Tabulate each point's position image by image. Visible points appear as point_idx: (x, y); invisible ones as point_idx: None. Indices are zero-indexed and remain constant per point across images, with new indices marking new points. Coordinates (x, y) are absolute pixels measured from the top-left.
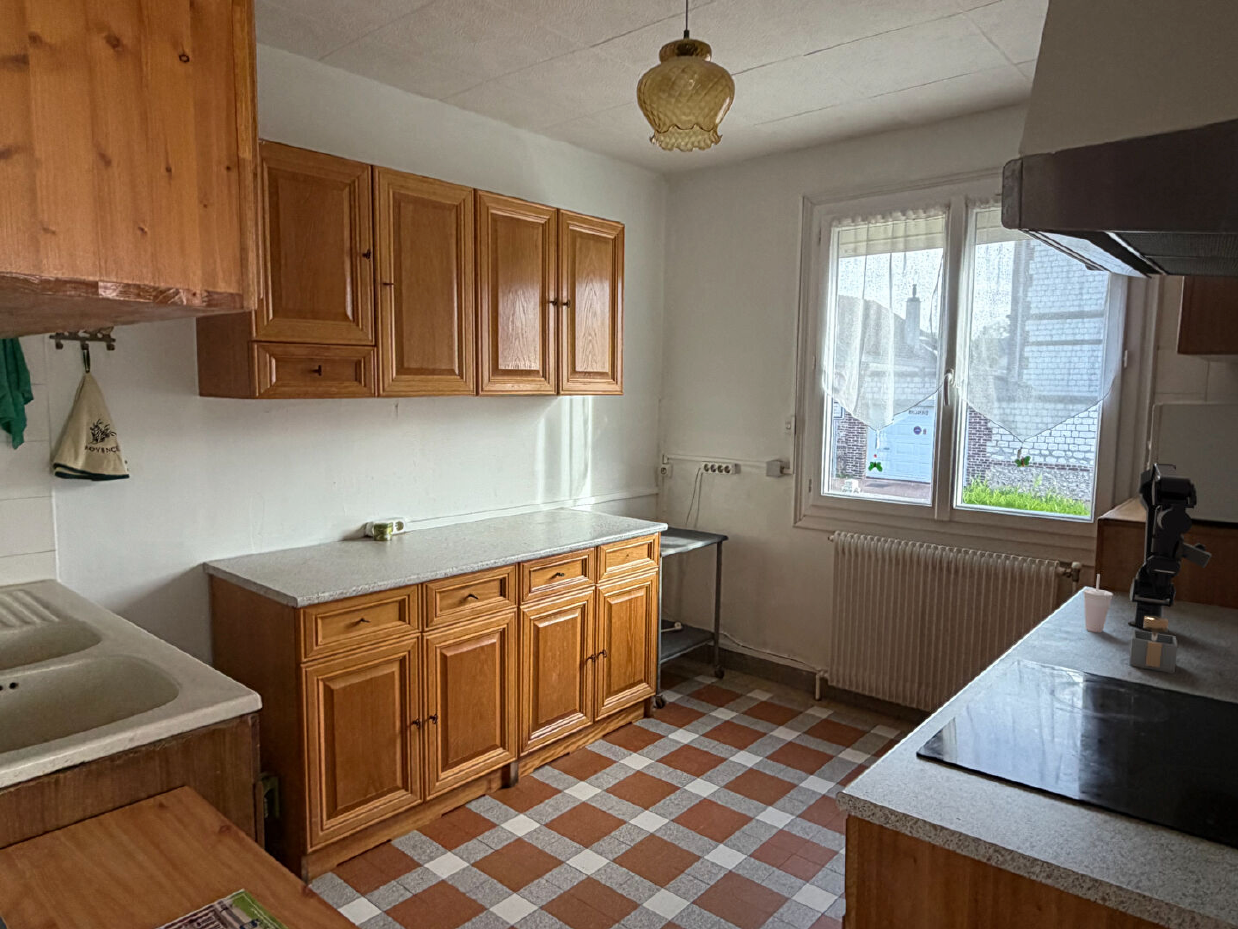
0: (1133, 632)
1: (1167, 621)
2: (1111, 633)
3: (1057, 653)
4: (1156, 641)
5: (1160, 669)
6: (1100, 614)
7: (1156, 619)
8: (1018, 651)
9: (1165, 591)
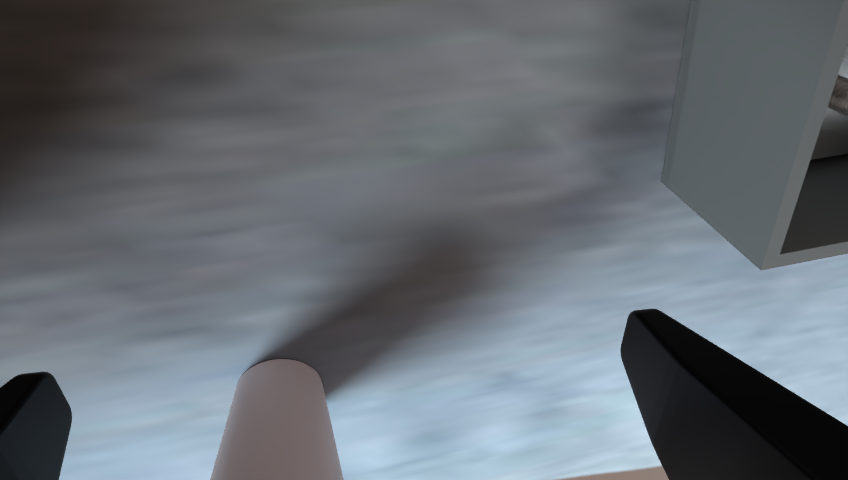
0: (843, 249)
1: None
2: (266, 325)
3: (781, 373)
4: None
5: None
6: (330, 456)
7: None
8: None
9: (783, 391)
